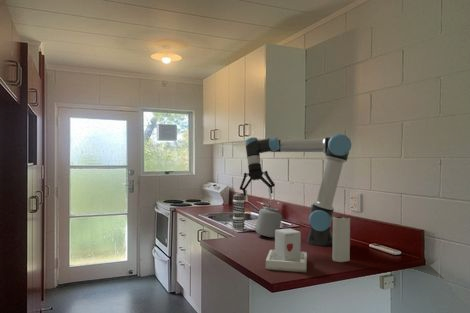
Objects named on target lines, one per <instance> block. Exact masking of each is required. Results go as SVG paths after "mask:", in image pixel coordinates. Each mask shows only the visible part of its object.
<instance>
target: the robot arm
mask: <svg viewBox="0 0 470 313" xmlns="http://www.w3.org/2000/svg"><path fill="white" fill-rule="evenodd" d="M351 149H352V141H351V139H350V138H349V136H347V135H345V134H343V133H336V134H334V135H332V136H330V137H324V138H321V139H319V138H318V139H309V138H306V139H279V138H278V137H270V138H266V139H265V138H263V139H258V138H257V137H249V138H247V139H245V151H246V152H245V153H246V158H247V159H246V160H247V167H248V168H247V169H248V173H247V172H244V173H243V178H242V181H241V184H240V187H239V190H242V193H243V195H244V197H245V202H246V203H247V202H249V197H248V189H247V188H248V187H249V184H251V182H252V181H262V183H264V184H265V185H266V186H267V187H268V188H267V192H268V198H269V200H273V198H272V197H273V196H272V194H273V192H274V191H273V187H275V183H274V181H273V180H272V178H271V177H270V175H269V172H268V171H267V170H265V171H263V170H262V169H263V168H262V163H261V155H260V154H263V153H268V152H269V153H283V152H284V153H323V154H325V158H326V159H327V160H326V163H325V167H324V171H323V175H322V179H321V183H320V185H319V186H320V187H319V189H318V190H319V191H318V195H317V198H316V201H315V202H313V203H311V205H310V214H309V215H308V223H309V225H310V230H309V233H308V236H307V243H308V244H311V245H314V246H318V247H319V246H320V247H321V246H322V247H325V246H326V247H328V246H333V232H332V229H331V227H332V225H331V224H332V220H333V214H334V211H335V208H334V206H333V204H334V199H335V197H336V196H335V195H336V192H337V189H338V185H339V180H340V177H341V173H342V169H343V165H344V163H346V162H347V161H348V158H349V155H350V151H351ZM263 176H265V177H266V179H265V178H264V177H263ZM247 177H249V179H248V181H247V182H246V178H247ZM245 182H246V184H245Z"/></svg>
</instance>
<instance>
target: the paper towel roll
mask: <svg viewBox="0 0 470 313" xmlns="http://www.w3.org/2000/svg"><path fill="white" fill-rule="evenodd" d="M332 236H333V245H332V251H331V252H332V259H331V260H332V261H333V262H337V263H344V262H350V261H351V260H350V257H351V256H350V255H351V253H350V251H351V250H350V248H351V218H350V217H344V216H332Z"/></svg>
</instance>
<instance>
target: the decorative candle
mask: <svg viewBox="0 0 470 313" xmlns="http://www.w3.org/2000/svg"><path fill="white" fill-rule="evenodd" d="M232 197H233V199H232V201H231V202H232V203H231V204H232V207H231V208H232V209H231V210H232V214H233V215H232V230H234V229H235V230H234V231H244V230H245V224H246V223H245V212H246V211H245V210H246V208H245V207H246V203H245V196H244V195H243V192H235V193H234V194H233V196H232ZM243 229H244V230H243Z"/></svg>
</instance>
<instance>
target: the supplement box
mask: <svg viewBox="0 0 470 313" xmlns="http://www.w3.org/2000/svg"><path fill="white" fill-rule="evenodd" d="M301 235H302V234H301V231H299V230H296V229H294V228H281V229H280V228H279V229H278V230H275V237H274V250H275V260H280V261H293V262H300V252H301V239H302V238H301Z"/></svg>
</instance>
